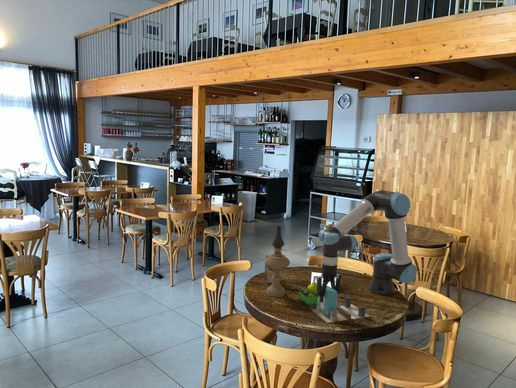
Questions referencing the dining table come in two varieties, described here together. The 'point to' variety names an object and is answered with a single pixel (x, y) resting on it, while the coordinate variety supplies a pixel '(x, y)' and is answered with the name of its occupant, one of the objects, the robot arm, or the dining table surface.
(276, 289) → the oil lamp
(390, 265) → the robot arm
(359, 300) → the dining table surface
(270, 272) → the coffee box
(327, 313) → the teal box
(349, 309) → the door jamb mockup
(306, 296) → the fruit basket
